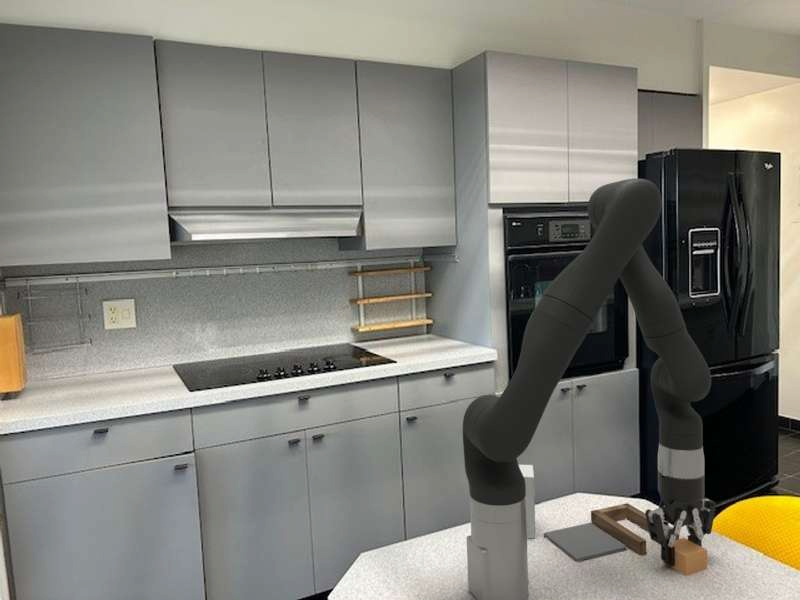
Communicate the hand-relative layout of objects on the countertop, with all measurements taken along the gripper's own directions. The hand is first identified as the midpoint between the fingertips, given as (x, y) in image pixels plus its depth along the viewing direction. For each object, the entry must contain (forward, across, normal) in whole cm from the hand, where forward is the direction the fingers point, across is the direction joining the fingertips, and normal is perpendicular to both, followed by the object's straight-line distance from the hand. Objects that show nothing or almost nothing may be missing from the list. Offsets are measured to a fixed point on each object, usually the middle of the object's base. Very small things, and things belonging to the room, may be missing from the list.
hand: (681, 560), depth 109 cm
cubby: (0, 0, -13) cm, 13 cm away
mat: (+1, +11, -13) cm, 17 cm away
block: (+1, 0, +1) cm, 1 cm away
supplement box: (+1, +20, -23) cm, 31 cm away
